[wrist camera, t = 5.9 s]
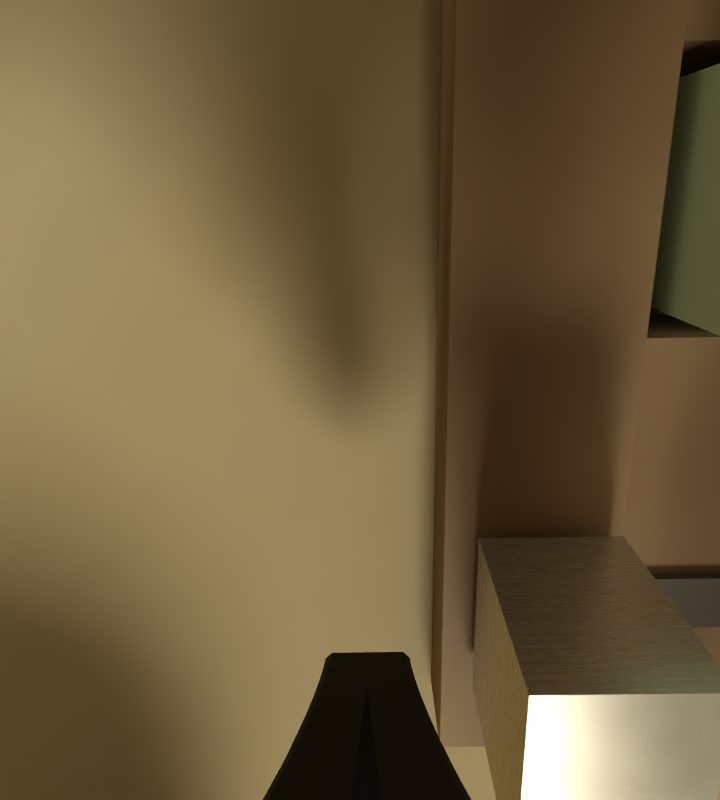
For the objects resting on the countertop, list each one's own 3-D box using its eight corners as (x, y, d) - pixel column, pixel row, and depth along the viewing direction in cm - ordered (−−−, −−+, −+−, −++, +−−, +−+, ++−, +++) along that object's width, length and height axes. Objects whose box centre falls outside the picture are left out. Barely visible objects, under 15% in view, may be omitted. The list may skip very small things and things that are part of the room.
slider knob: (623, 536, 12) (739, 693, 8) (604, 685, 13) (699, 883, 10) (478, 538, 12) (529, 695, 8) (472, 686, 13) (514, 883, 10)
